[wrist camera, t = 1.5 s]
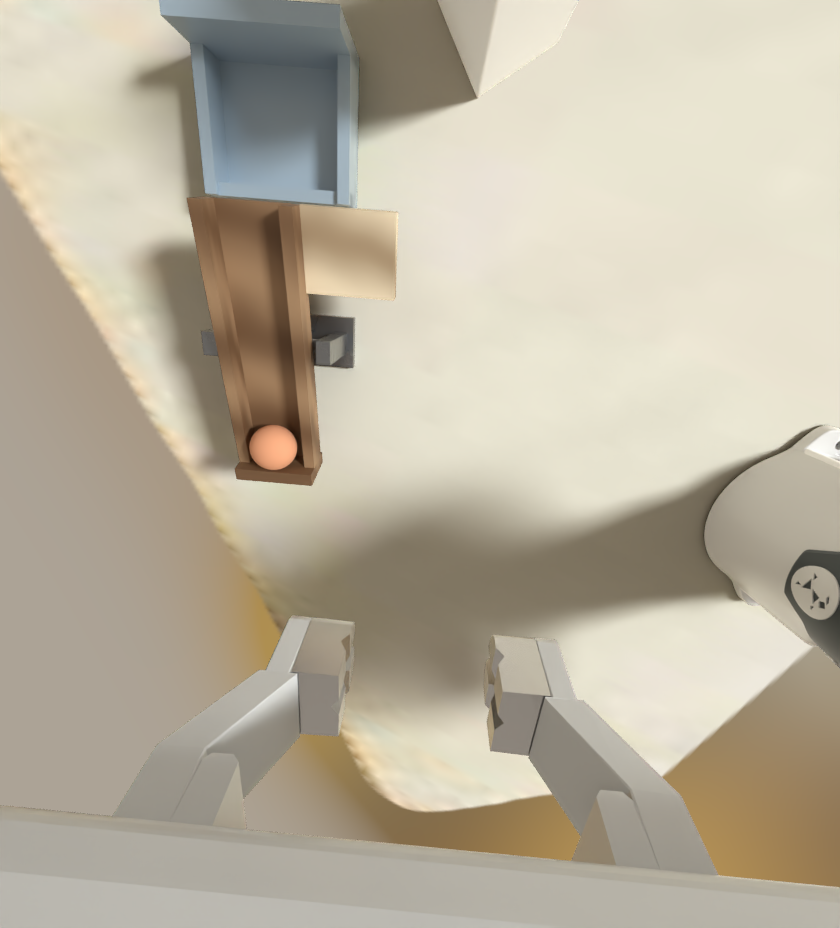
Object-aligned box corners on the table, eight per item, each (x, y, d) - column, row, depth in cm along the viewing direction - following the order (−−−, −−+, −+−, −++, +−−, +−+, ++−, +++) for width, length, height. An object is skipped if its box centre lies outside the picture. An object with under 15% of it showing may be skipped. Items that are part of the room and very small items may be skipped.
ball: (301, 419, 34) (286, 439, 31) (304, 457, 36) (291, 480, 33) (257, 415, 34) (238, 435, 31) (262, 454, 36) (245, 476, 33)
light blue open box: (359, 58, 29) (339, 4, 23) (356, 211, 32) (339, 196, 27) (211, 46, 29) (157, -10, 23) (225, 200, 32) (181, 183, 27)
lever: (391, 461, 38) (384, 492, 34) (255, 449, 38) (234, 478, 34) (399, 210, 27) (392, 216, 23) (210, 195, 27) (173, 198, 23)
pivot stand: (354, 366, 37) (337, 382, 31) (238, 356, 37) (199, 371, 31) (354, 317, 35) (337, 324, 29) (234, 307, 35) (191, 312, 29)
